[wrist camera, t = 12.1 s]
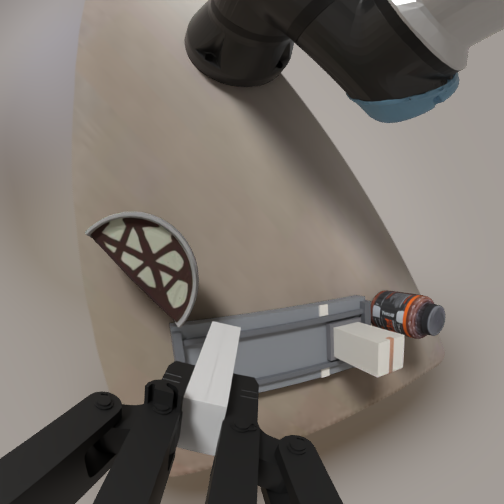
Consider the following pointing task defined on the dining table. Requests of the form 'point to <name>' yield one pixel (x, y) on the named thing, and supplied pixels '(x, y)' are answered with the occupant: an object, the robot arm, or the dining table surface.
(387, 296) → the supplement bottle
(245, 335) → the board
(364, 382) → the dining table surface
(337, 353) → the fader tab
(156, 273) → the food container
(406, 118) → the robot arm
